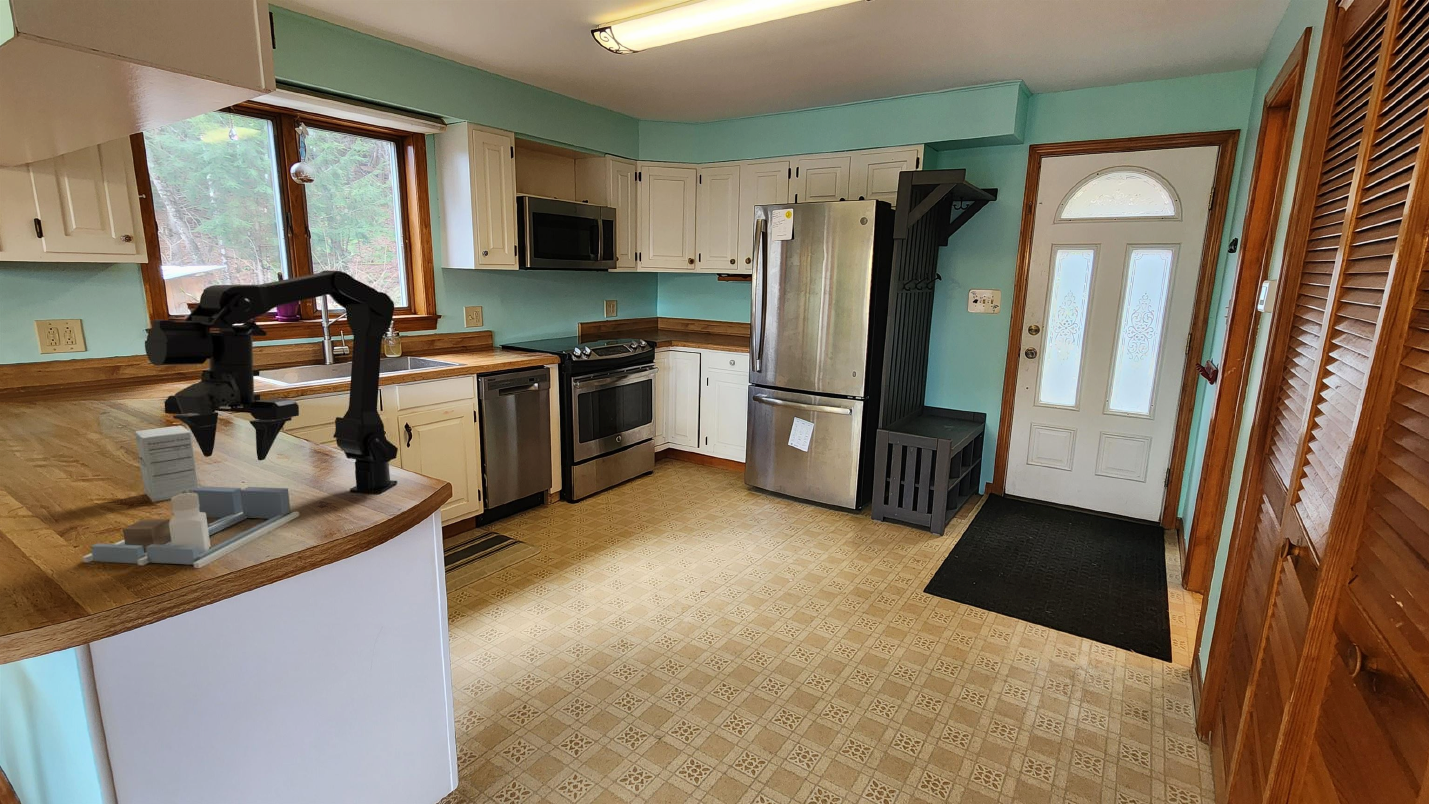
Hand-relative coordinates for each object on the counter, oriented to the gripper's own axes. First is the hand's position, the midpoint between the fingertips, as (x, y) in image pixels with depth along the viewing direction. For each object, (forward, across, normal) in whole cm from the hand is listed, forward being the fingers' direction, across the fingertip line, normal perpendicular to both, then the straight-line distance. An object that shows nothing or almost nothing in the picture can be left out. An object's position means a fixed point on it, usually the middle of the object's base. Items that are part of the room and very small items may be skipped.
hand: (234, 458), depth 106 cm
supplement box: (+12, -27, +16) cm, 34 cm away
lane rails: (+13, -4, -2) cm, 14 cm away
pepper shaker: (+14, 0, -8) cm, 16 cm away
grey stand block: (+13, 0, -2) cm, 13 cm away
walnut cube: (+14, -9, -7) cm, 18 cm away
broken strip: (+13, -9, -2) cm, 16 cm away
